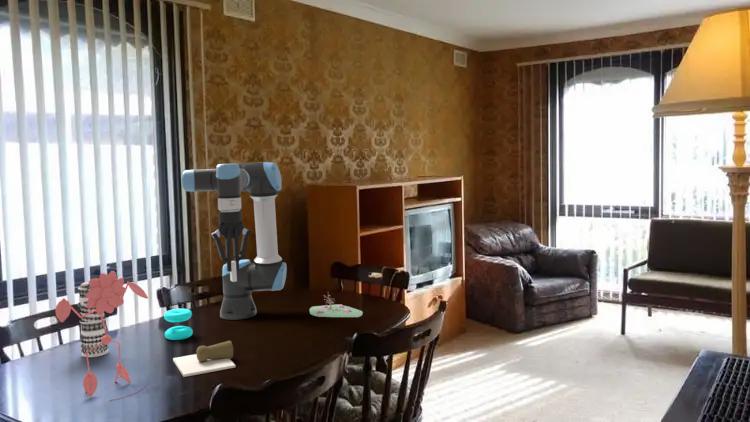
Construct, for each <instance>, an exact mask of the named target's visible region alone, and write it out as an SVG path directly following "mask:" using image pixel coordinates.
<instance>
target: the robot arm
mask: <svg viewBox="0 0 750 422" xmlns="http://www.w3.org/2000/svg"><path fill="white" fill-rule="evenodd" d="M282 180H283V179H282V176H281V171H280V168H279V166H278V164H276V163H275V162H268V161H260V162H237V163H219V164H217V165H216V168H209V169H207V168H206V169H205V168H204V169H202V168H201V169H186V170H184V171H183V173H182V174H181V185H182V189H183V190H184V191H186V192H193V193H194V192H216V193H217V209H218V210H219V212H218V226H217V229H216V230H215V231H214V232H211V233H210V235H211V237H212V238H213V239H214V241H215V245H216V248H217V251H218V255H219V258H220V260H221V261H223V262H225V264H223V266H222V270H221V271H222V274H221V277H222V293H223V300H222V302H221V307H220V309H219V318H221V319H223V320H230V321H232V320H235V321H237V320H245V319H249V318H253V317H255V316H257V313H258V312H257V307H256V304H255V301H254V299H253V296H252V292H255V291H256V292H263V291H264V292H265V291H267V292H269V291H271V292H274V291H281V290H282V289H284V286H285V283H286V280H287V279H286V278H287V271H288V270H287V269H288V268H287V263H286V262H283V258H282V256H281V255H279V252H278V251H279V249H278V248H279V247H278V246H279V245H278V234H277V233H278V231H277V230H278V229H277V215H276V213H277V212H276V201H275V200H276V198H277V197H278V195H279V192H280V191H282V187H283V186H282V184H283V183H282ZM242 192H248V193H249V197H250V199H252V201H253V211H254V212H253V213H254V225H255V226H254V227H255V240H256V257H255V258H254V259H253V262H252V261H251V260H250V259H247V258H246V257H245V256H246V249H247V245H248V241H249V236H250V235H251V232H252V231H251V230H250V229H247V228H245V226H244V224H243V211H241V210H242V195H241V194H242ZM241 234H242V237H241V242H240V243H241V244H240V248H239V237H240V235H241ZM221 236H222V237H223V238H224V246H225V248H223V245H222V242H221V239H220V237H221ZM231 241H232V242H231ZM231 243H232V245H231ZM231 246H232V247H231ZM224 249H225V251H224ZM232 250H233V260H232ZM245 258H246V259H245Z"/></svg>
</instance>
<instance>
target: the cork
mask: <svg viewBox="0 0 750 422" xmlns="http://www.w3.org/2000/svg"><path fill="white" fill-rule="evenodd" d="M195 354H196V355H197V359H198V361H200V362H205V361H207V360H208V359H226V358H229V359H230V360H231V359H233V357H234V346H233V343H232V341H231V340H227V341H223V342H219V343H216V344H212V345H208V346H206V345H200V346H198V347H197V348H196V352H195Z"/></svg>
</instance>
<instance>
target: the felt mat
mask: <svg viewBox="0 0 750 422" xmlns="http://www.w3.org/2000/svg"><path fill="white" fill-rule="evenodd" d="M172 361H173V363H174V364H175V366H176V367H177V369H178V370H179V372H180V374H181V376H183V378H185V377H191V376H196V375H201V374H208V373H212V372H213V373H214V372H218V371H223V370H228V369H234V368H236V364H235V363H234V361H232V360H231V359H229V358H226V359H208V360H207V361H205V362H200V361H198V359H197V355H196V353H194V354H189V355H183V356H179V357H173V358H172Z"/></svg>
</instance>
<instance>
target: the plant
mask: <svg viewBox="0 0 750 422" xmlns="http://www.w3.org/2000/svg"><path fill="white" fill-rule="evenodd" d="M327 294H328V295H327V296H326V295H325V294H324V295H322V296H323V297H324V299H323V300H324V301H325V300H326V301H325V305H315V306H311V307H310V308H309V314H310V315H312V316H313V317H314V316H315V317H319V318H321V317H322V318H324V317H325V318H360V317H362V316H363V313H364V312H363V311H362V310H360V309H357V308H354V307H351V306H349V305H348V306H347V305H343V304H339V303H338V304H335V302H336V300H335V299H332V298H331V294H329V291H327ZM325 298H326V299H325ZM328 304H329V305H328Z"/></svg>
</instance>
